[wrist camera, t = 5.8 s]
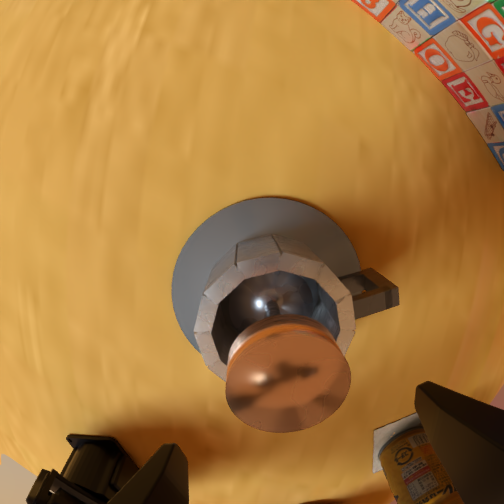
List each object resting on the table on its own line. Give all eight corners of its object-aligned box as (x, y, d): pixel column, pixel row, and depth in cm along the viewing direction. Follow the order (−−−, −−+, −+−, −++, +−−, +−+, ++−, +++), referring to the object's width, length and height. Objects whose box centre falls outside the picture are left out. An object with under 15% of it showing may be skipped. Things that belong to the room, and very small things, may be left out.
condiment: (372, 472, 24) (404, 554, 12) (373, 429, 22) (419, 530, 10) (430, 447, 24) (472, 519, 12) (439, 400, 22) (501, 481, 10)
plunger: (241, 346, 18) (240, 444, 10) (219, 275, 17) (200, 350, 9) (316, 328, 18) (359, 416, 10) (302, 254, 17) (350, 314, 9)
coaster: (206, 387, 20) (205, 390, 20) (148, 226, 17) (146, 227, 17) (367, 347, 20) (369, 350, 19) (342, 178, 17) (344, 177, 17)
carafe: (226, 361, 19) (222, 406, 15) (191, 254, 17) (174, 278, 13) (372, 323, 19) (402, 357, 14) (358, 212, 17) (392, 223, 13)
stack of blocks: (523, 128, 16) (624, 126, 4) (501, 173, 17) (619, 186, 5) (352, -52, 13) (405, -142, 1) (309, -26, 14) (354, -143, 2)
